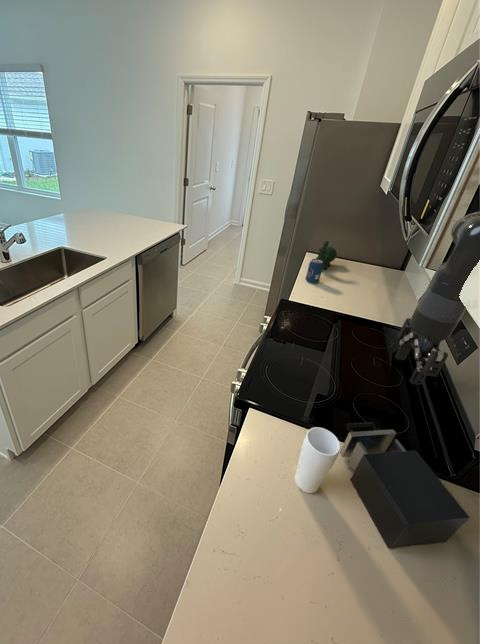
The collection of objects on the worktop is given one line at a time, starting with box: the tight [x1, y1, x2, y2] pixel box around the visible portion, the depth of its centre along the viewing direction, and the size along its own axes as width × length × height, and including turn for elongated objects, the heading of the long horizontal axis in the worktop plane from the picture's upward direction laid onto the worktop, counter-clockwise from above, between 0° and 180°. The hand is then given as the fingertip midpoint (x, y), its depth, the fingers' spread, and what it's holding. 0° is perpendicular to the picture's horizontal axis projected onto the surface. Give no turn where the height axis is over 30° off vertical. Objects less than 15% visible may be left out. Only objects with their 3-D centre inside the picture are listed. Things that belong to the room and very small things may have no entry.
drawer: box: [339, 421, 407, 472], centre depth 71 cm, size 16×11×8 cm
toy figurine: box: [315, 240, 338, 271], centre depth 181 cm, size 9×19×25 cm
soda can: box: [305, 258, 323, 285], centre depth 163 cm, size 7×7×12 cm
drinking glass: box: [294, 426, 341, 494], centre depth 67 cm, size 7×7×15 cm
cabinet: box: [349, 449, 470, 550], centre depth 64 cm, size 14×13×10 cm
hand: (406, 370), depth 72 cm, fingers open, 8 cm apart
